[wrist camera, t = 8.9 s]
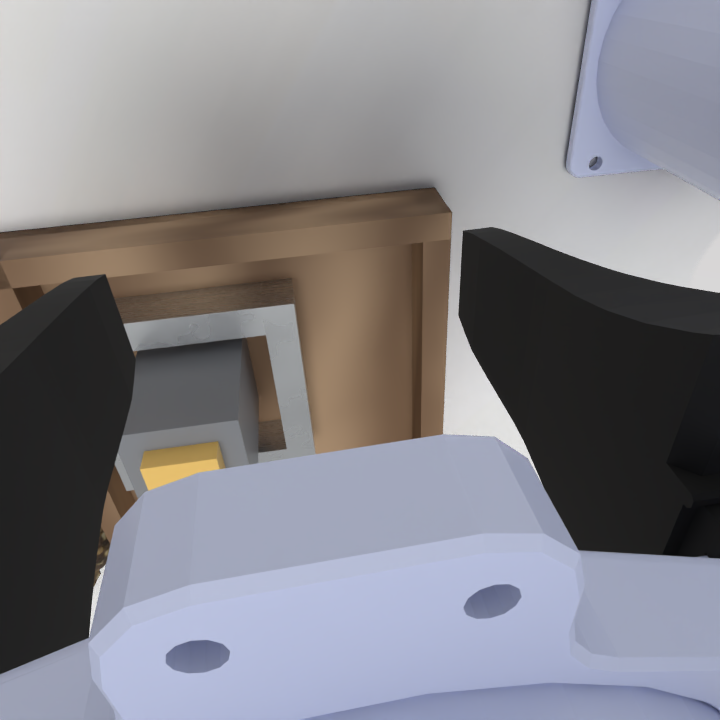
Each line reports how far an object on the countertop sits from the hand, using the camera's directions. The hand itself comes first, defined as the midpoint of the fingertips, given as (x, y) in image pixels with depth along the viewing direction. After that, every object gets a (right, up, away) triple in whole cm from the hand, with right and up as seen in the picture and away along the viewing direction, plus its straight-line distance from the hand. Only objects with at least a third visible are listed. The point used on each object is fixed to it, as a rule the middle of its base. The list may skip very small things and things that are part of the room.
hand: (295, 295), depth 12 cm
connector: (-5, -2, +13) cm, 14 cm away
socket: (-5, -2, +13) cm, 14 cm away
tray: (-3, -3, +15) cm, 15 cm away
